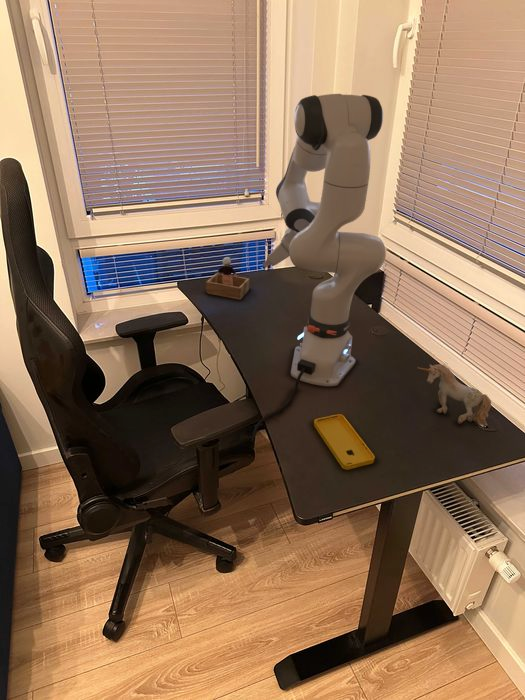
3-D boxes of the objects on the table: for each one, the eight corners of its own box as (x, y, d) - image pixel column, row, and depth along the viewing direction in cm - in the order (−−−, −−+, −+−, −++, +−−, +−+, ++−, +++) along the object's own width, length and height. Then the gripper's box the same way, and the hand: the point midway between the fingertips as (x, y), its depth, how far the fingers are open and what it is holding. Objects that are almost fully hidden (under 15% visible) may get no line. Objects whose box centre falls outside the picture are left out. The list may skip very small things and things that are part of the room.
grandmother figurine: (236, 286, 192) (237, 255, 186) (237, 291, 189) (237, 259, 182) (216, 286, 192) (216, 255, 185) (216, 290, 189) (216, 259, 182)
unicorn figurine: (413, 395, 138) (423, 354, 131) (488, 417, 131) (502, 375, 124) (407, 409, 132) (417, 367, 125) (484, 433, 125) (500, 390, 118)
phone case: (341, 417, 129) (341, 413, 128) (375, 462, 115) (376, 458, 114) (312, 423, 126) (312, 419, 125) (344, 470, 113) (344, 466, 112)
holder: (240, 299, 184) (240, 288, 182) (206, 293, 188) (206, 282, 185) (249, 289, 192) (249, 278, 190) (216, 283, 196) (216, 272, 193)
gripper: (299, 222, 178) (272, 244, 185) (282, 239, 161) (253, 263, 169) (310, 236, 179) (283, 258, 186) (294, 254, 162) (265, 278, 170)
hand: (268, 260), depth 177 cm, fingers open, 8 cm apart
